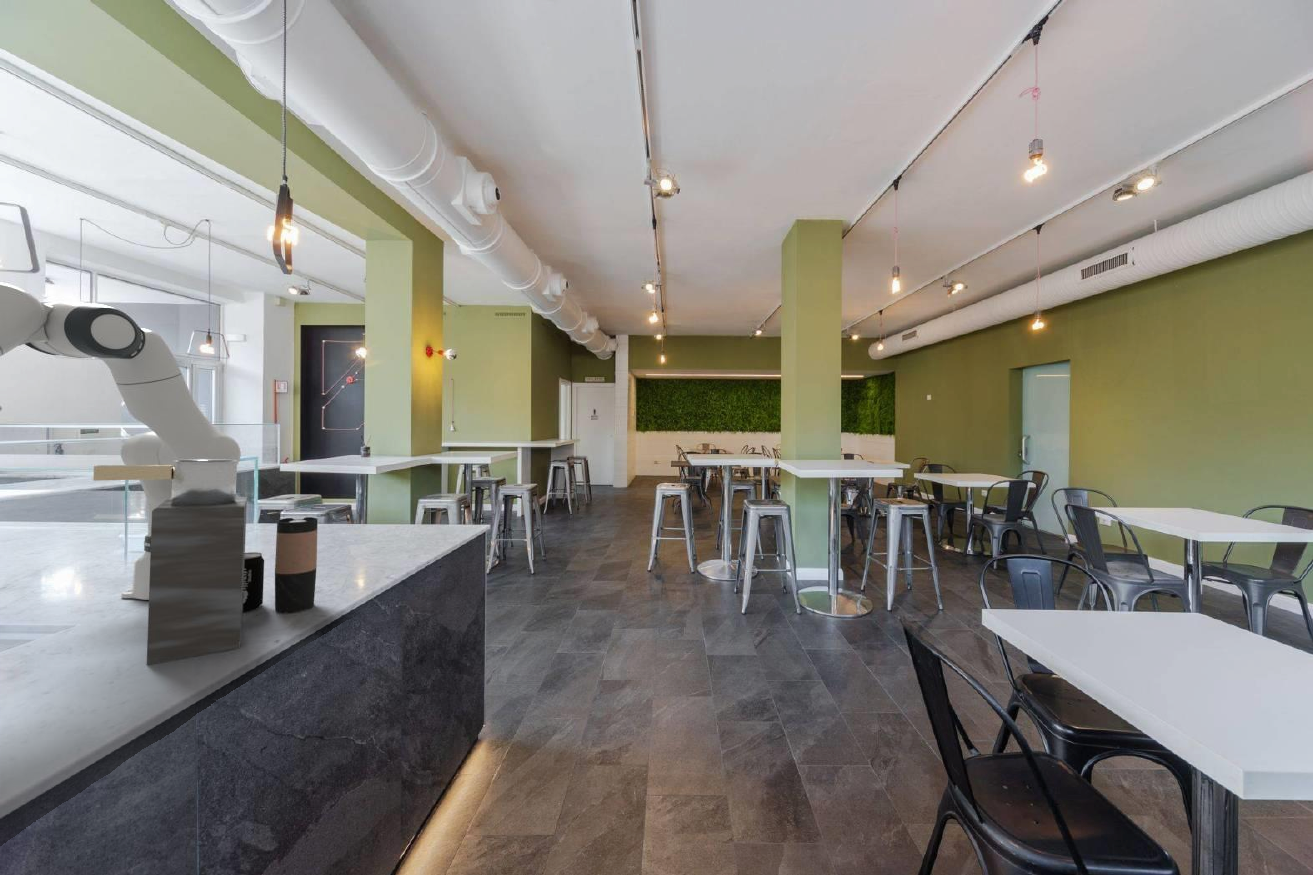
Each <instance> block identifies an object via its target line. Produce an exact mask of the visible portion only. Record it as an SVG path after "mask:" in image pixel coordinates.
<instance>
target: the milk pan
mask: <svg viewBox="0 0 1313 875" xmlns="http://www.w3.org/2000/svg"><path fill="white" fill-rule="evenodd" d="M237 469H238V465H237V461H235V460H230V459H183V460H178V461H173V465H125V464H124V465H119V464H117V465H115V464H113V465H110V464H109V465H105V464H104V465H103V464H102V465H100V464H98V465H93V479H92V480H93V481H137V480H138V481H139V480H153V479H172V496H171V505H172V506H180V507H198V506H216V505H225V504H232V503H235V502H236V497H237V476H238V474H237V473H238V472H237V471H238V470H237Z"/></svg>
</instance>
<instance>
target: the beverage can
mask: <svg viewBox="0 0 1313 875" xmlns="http://www.w3.org/2000/svg"><path fill="white" fill-rule="evenodd" d="M264 575H265V559H264V557H263V553H262V552H257V551H255V552H254V551H253V552H250V551H249V552H245V563H244V592H243V613H248V612H253V611H255V610H258V609H259V608H260V607H261V606H263V605H262V604H263V602H264V583H265V581H264V578H265V576H264Z"/></svg>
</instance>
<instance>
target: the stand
mask: <svg viewBox="0 0 1313 875" xmlns="http://www.w3.org/2000/svg"><path fill="white" fill-rule="evenodd" d="M247 500H248V497H247V496H246V497H245V496H241V497H240V496H239V497H238V496H236V502H235V503H232V504H225V505H216V506H198V507H180V506H172V505H171V500H166V501H165V502H163V503H162V504H161V505H159V506H158V507H157V508H155V509H154V510H153V511H152V526H151V554H150V583H149V600H148V614H147V615H148V616H147V619H148V620H147V641H146V642H147V643H146V644H147V645H146V646H147V647H146V648H147V649H146V665H147V666H148V665H154V664H155V665H156V664H161V663H165V662H171V661H177V660H181V659H188V658H193V657H198V656H203V655H209V654H214V653H220V652H225V651H232V650H236V649H238V650H239V649H240V647H241V646H240V645H241V637H242V628H243V617H244V615H243V614H244V612H243V592H244V563H245V553H246V531H247V530H246V527H247Z"/></svg>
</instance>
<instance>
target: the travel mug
mask: <svg viewBox="0 0 1313 875" xmlns="http://www.w3.org/2000/svg"><path fill="white" fill-rule="evenodd" d="M275 538H276V540H275V558H274V559H275V561H274V562H275V563H274V564H275V565H274V610H275V612H276V613H279V614H291V613H292V614H294V613H299V612H304V611H307V610H309V609H312V608H313V607H314V605H315V595H316V583H317V582H316V580H317V579H316V578H317V567H318V566H317V561H318V560H317V558H318V518H317V517H313V516H311V517H310V516H307V517H304V518H302V519H294V518H292V517H286V518H280V519H278V520H277V522H276V537H275ZM293 612H294V613H293Z"/></svg>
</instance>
